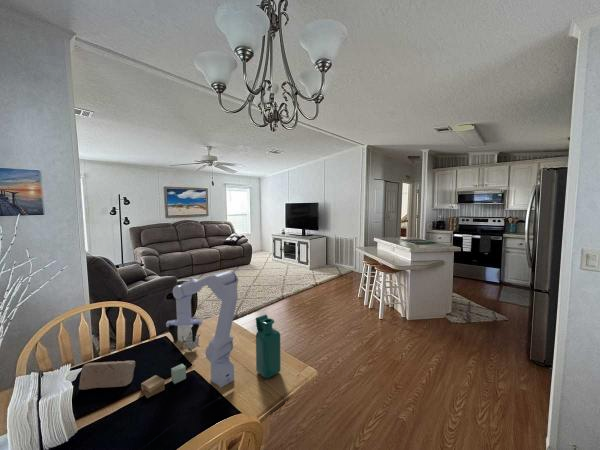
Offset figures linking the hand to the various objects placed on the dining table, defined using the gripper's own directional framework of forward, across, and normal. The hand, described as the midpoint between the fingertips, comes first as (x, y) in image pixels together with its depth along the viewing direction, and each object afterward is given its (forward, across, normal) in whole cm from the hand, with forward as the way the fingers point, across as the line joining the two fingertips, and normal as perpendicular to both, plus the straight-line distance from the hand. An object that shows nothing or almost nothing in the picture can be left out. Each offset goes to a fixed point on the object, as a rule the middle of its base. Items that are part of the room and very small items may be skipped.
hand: (185, 341), depth 114 cm
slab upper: (+8, +6, +17) cm, 20 cm away
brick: (+10, +25, +13) cm, 29 cm away
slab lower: (+10, +6, +17) cm, 21 cm away
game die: (+10, 0, -9) cm, 13 cm away
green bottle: (+10, -36, +9) cm, 39 cm away
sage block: (+10, -1, +11) cm, 15 cm away
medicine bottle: (+10, +8, -22) cm, 25 cm away
